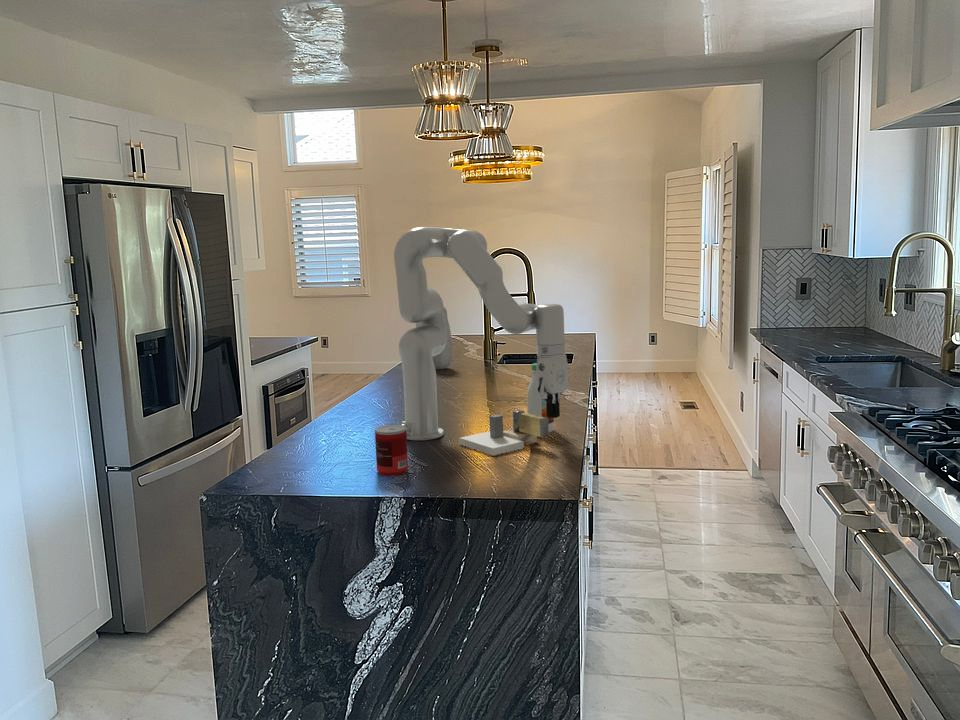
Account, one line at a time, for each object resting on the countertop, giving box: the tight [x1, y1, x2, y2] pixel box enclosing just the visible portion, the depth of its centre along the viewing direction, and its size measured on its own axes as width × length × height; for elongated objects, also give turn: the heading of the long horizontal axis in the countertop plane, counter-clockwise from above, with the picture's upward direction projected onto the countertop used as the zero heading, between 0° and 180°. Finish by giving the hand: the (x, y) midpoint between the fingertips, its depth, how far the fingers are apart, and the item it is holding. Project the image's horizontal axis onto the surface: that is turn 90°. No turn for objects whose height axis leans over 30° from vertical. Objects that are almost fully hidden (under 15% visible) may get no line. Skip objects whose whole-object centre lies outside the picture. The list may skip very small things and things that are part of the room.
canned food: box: [374, 424, 409, 477], centre depth 196 cm, size 8×8×11 cm
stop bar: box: [512, 409, 549, 439], centre depth 217 cm, size 13×3×5 cm, turn 37°
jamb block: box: [503, 428, 538, 446], centre depth 221 cm, size 7×7×3 cm
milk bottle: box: [526, 362, 555, 434], centre depth 231 cm, size 8×8×20 cm
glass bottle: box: [432, 306, 452, 370], centre depth 344 cm, size 10×10×28 cm
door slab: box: [458, 414, 525, 456], centre depth 217 cm, size 10×15×8 cm
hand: (553, 416), depth 216 cm, fingers closed
